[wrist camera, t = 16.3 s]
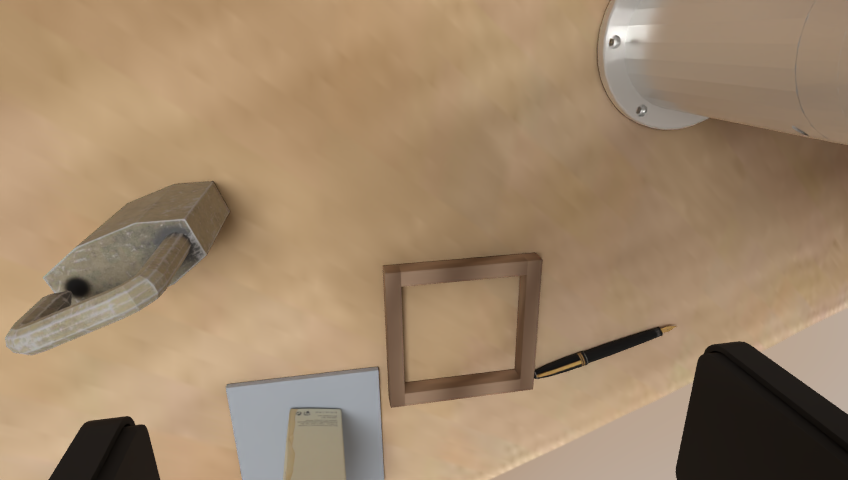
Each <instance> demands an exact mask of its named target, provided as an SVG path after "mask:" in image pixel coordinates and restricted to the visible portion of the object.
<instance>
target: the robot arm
mask: <svg viewBox="0 0 848 480" xmlns="http://www.w3.org/2000/svg"><path fill="white" fill-rule="evenodd" d="M610 39H611V44H610V45H609V40H610ZM598 67H599V72H600V76H601V81H602V83H603V86H604V88H605V90H606V93H607V95H608V97H609V98H610V100H611V101H612V102H613V104H614V105H615V107H616V108H617V109H618V110H619V111H620V112H621V113H623V114H624V115H625V116H626V117H627V118H629V119H631V120H633V121H634V122H636V123H638V124H641V125H644V126H647V127H650V128H656V129H661V130H676V129H682V128H686V127H690V126H694V125H696V124H698V123H700V122H703V121H705V120H707V119H709V118H714V119H719V120H724V121H729V122H734V123H739V124H744V125H749V126H754V127H759V128H764V129H769V130H774V131H779V132H784V133H789V134H794V135H799V136H804V137H808V138H813V139H818V140H823V141H828V142H833V143H838V144H845V145H848V0H611V1H610V3H609V5H608V7H607V9H606V11H605V14H604V17H603V21H602V24H601V27H600V33H599V40H598ZM637 108H638V110H637ZM636 111H637V112H636ZM676 478H677V480H848V414H846V413H845V412H844V411H842V410H841V409H839V408H838V407H836V406H835V405H834V404H832V403H831V402H830V401H828V400H827V399H825V398H824V397H823V396H821V395H820V394H818V393H817V392H816V391H814V390H813V389H811V388H810V387H808V386H807V385H806V384H804V383H803V382H802V381H800V380H799V379H797V378H796V377H795V376H793V375H792V374H790V373H789V372H788V371H786V370H785V369H783V368H782V367H780V366H779V365H778V364H776V363H775V362H773V361H772V360H771V359H769V358H768V357H766V356H765V355H764V354H762V353H761V352H759V351H758V350H757V349H755V348H754V347H752V346H751V345H749V344H747V343H745V342H740V341H739V342H730V343H722V344H714V345H711V346H708V348H707V349H706V350H705V352H704V354H703V355H701V356H700V357H699V359H698V362H697V367H696V372H695V377H694V381H693V387H692V392H691V396H690V401H689V406H688V411H687V416H686V421H685V426H684V431H683V436H682V441H681V445H680V451H679V455H678V460H677V465H676ZM49 480H160V477H159V473H158V469H157V465H156V461H155V457H154V453H153V449H152V445H151V441H150V437H149V433H148V430H147V428H146V426H145V425H135V423H134V421H133V419H132V418H131V417H128V416H126V417H118V418H109V419H101V420H93V421H88V422H86V423H84V425H83V426H82V427H81V428H80V430H79V431H78V433H77V435H76V436H75V438H74V440H73V441H72V443H71V444H70V446H69V448H68V449H67V451H66V453H65V454H64V456H63V457H62V459H61V461H60V462H59V464H58V465H57V467H56V469H55V470H54V472H53V474H52V475H51V477H50V478H49Z"/></svg>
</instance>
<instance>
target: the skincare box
mask: <svg viewBox="0 0 848 480" xmlns="http://www.w3.org/2000/svg"><path fill="white" fill-rule="evenodd" d="M283 480H346V470H345V456H344V441H343V428H342V413H341V409H290V411H289V421H288V429H287V438H286V449H285V461H284V474H283Z"/></svg>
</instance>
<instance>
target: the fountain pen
mask: <svg viewBox="0 0 848 480" xmlns="http://www.w3.org/2000/svg"><path fill="white" fill-rule="evenodd" d="M674 327H676V326H667V327H664V328H659V327H657V328H655V329H652V330H649V331H645V332H642V333H639V334H636V335H633V336H629V337H626V338H623V339H620V340H617V341H614V342H611V343H607V344H605V345H602V346H599V347H596V348H593V349H590V350H587V351H584V352H579V353H576V354H573V355H571V356H568V357H565V358H562V359H560V360H557V361H555V362H552V363H550V364H547V365H545V366H543V367H541V368H539V369H537V370H535V371H534V378H535V379H539V378H544V377H549V376H553V375H556V374H560V373H563V372H567V371H570V370H573V369H576V368H579V367H582V366H584V365H587V364H588V363H590V362H593V361H596V360H599V359H601V358H604V357H607V356H610V355H613V354H615V353H618V352H621V351H623V350H626V349H628V348H631V347H634V346H636V345H639V344H641V343H644V342H646V341H649V340H651V339H654V338H656V337H659V336H662V335H663V333H664V332H668V331H670V330H672V329H673V328H674Z"/></svg>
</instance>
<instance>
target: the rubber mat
mask: <svg viewBox="0 0 848 480" xmlns="http://www.w3.org/2000/svg"><path fill="white" fill-rule="evenodd" d="M226 392H227V397H228V403H229V408H230V414H231V420H232V425H233V431H234V436H235V442H236V448H237V453H238V459H239V464H240V470H241V475H242V480H283V474H284V461H285V449H286V438H287V429H288V421H289V411H290V409H341V413H342V428H343V441H344V456H345V470H346V480H384V467H383V448H382V430H381V411H380V392H379V373H378V367H371V368H363V369H354V370H346V371H337V372H328V373H320V374H311V375H303V376H294V377H285V378H277V379H268V380H260V381H251V382H243V383H234V384H227V386H226Z"/></svg>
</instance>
